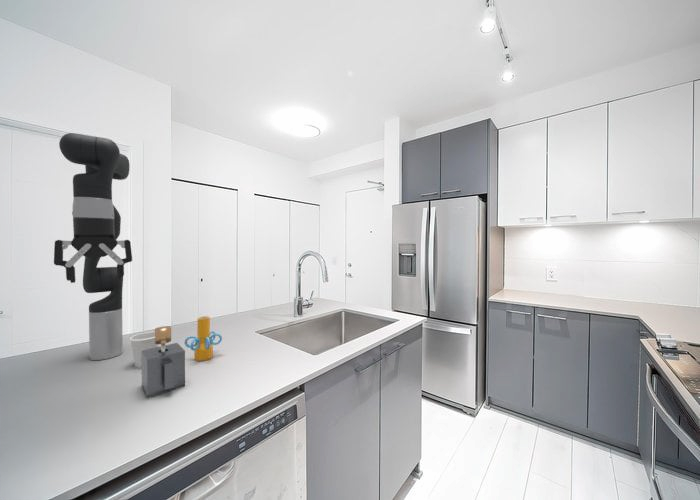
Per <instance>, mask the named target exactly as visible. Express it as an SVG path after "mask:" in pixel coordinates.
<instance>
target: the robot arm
mask: <svg viewBox="0 0 700 500" xmlns="http://www.w3.org/2000/svg"><path fill="white" fill-rule="evenodd" d="M58 146H59V150H60V152H61V154H62V155H63V157H64V158H65V159H66V160H67V161H69V162H70V163H73V164H76V165H82V166H85V167H84V168H85V169H84V170H85V172H83V173H82V172H80V173H77V174H74V175H73V176H72V191H73V193H72V194H73V199H72V200H73V202H72V210H71V214H72V226H73V239H72V240H62V239H57V240H54V249H53V250H54V251H53V252H54V253H53V265H55V266H61V267H64V268H65V276H66V277H65V278H66V281H68V282H69V281H70V284H74V283H76V267H75V266H74V265H75V264H76V263H77V262H78V261H80V259H81V258H82V257H84V264H83V271H82V274H83V275H82V288H83V290H84V292H86V293H87V294H96V293H97V294H98V293H107V292H110V293H109V294H108V295H107V296H105V297H103V298H101V299H99V300H96V301H93V302H91V303H90V304H89V305H88V336H89V337H88V339H89V340H88V343H89V347H88V350H89V351H88V352H89V358H88V359H89V361H90V360H91V361H101V360H108V359H111V358H115V357H118V356H120V355H121V354H122V353H123V351H124V350H123V341H124V339H123V289H124V288H123V287H124V286H123V285H124V275H125V266H124V265H126V264H127V263H131V262H133V256H132V245H131V241H130V240H129V239H124V240H117V239H118V238H119V237H120V234H121V224H122V222H121V221H122V220H121V219H122V217H121V214H120V212H119V210H118V209H117V207H115V205H114V203H113V189H112V188H113V180H117V181H124V180H126V179H127V178H128V177H129V174H130V160H129V158H128V156H126V155H125V154H123V153H120V148H119V146H118V144H117V143H116V142H115V141H114V140H112V139H110V138H106V137H101V136H96V135H95V136H94V135H88V134H82V133H75V132H69V133H65V134H64V135H62V137H60V140H59V145H58ZM70 245H71V246H72V248H74V250H76V251H77V252H76V253H75V254H74V255H73V256H72V257H71V258H70V259H69V260H64V250H66V249H68V248H69V246H70ZM118 245H119V246H120V247H121V248H122V249H124V251H125V253H124V254H125V258H120V256H118V255H117V253H116V252H114V249H115V248H116V247H117V246H118ZM107 256H109V258H111V259H112V260H113V261H114V262H116V263H117V264H116V266H105V267H98V265H99V262H100V261H101V259H102V258H104V257H107Z"/></svg>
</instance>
